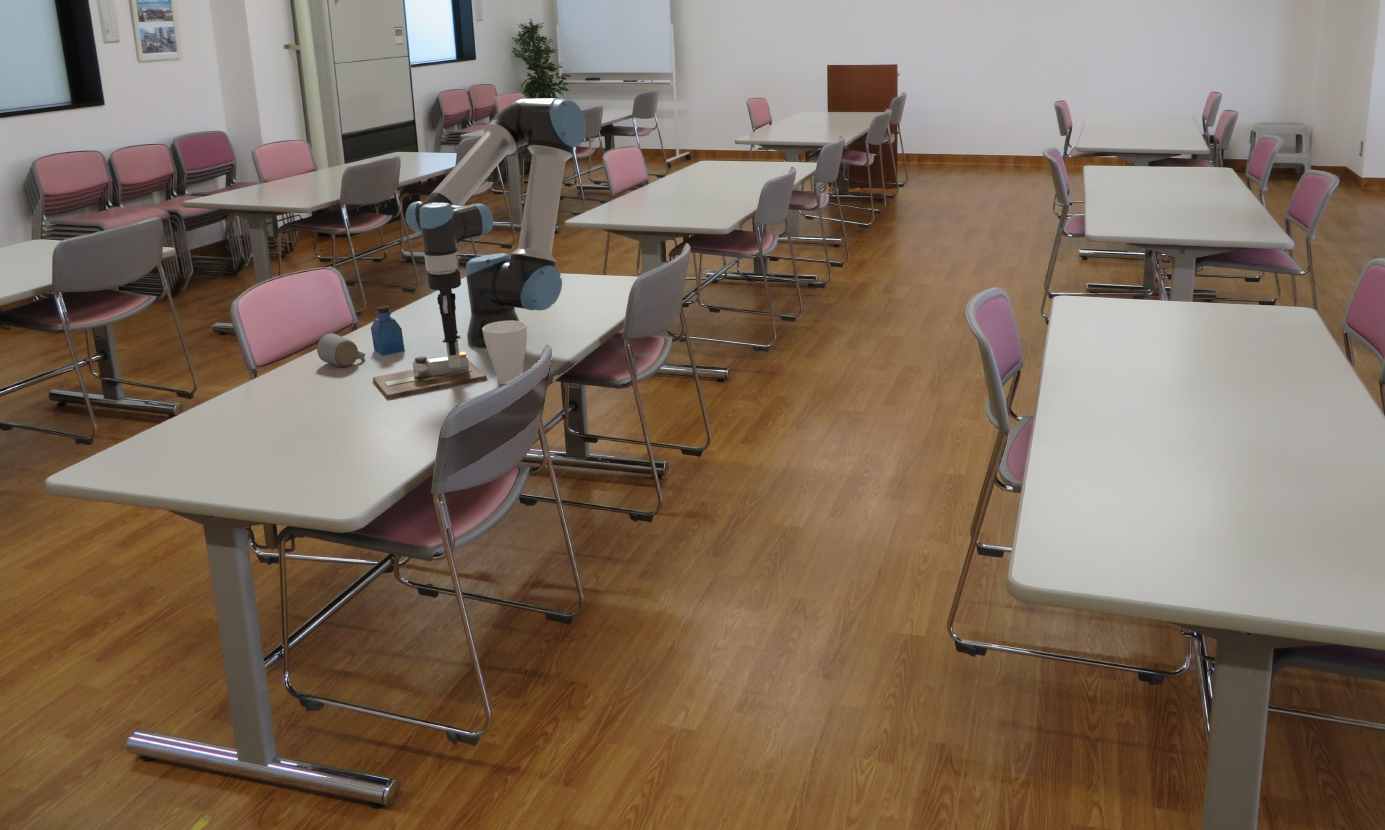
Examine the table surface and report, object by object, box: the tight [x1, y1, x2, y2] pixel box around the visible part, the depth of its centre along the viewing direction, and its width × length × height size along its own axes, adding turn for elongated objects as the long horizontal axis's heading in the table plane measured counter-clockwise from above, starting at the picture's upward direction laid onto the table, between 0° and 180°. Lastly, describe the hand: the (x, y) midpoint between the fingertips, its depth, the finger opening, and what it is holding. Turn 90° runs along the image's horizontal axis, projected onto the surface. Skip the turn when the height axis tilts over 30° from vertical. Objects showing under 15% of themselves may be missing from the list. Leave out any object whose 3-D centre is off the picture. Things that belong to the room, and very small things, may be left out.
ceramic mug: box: [316, 333, 366, 368], centre depth 273 cm, size 11×8×8 cm
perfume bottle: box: [370, 305, 406, 356], centre depth 280 cm, size 6×6×12 cm
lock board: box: [372, 356, 488, 400], centre depth 257 cm, size 24×15×6 cm, turn 118°
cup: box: [482, 320, 528, 385], centre depth 254 cm, size 10×10×14 cm
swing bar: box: [412, 351, 469, 378], centre depth 258 cm, size 13×4×4 cm, turn 108°
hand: (454, 366), depth 257 cm, fingers closed
